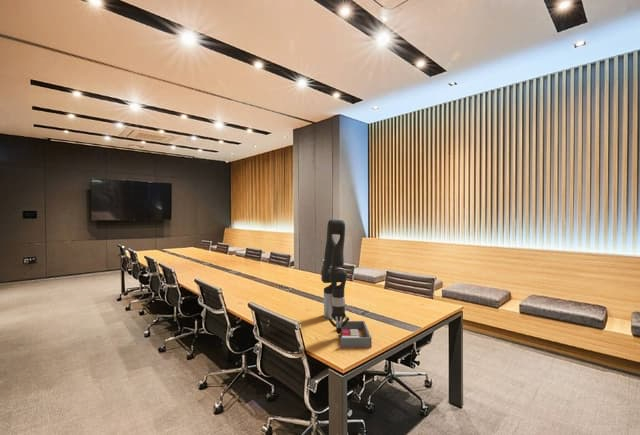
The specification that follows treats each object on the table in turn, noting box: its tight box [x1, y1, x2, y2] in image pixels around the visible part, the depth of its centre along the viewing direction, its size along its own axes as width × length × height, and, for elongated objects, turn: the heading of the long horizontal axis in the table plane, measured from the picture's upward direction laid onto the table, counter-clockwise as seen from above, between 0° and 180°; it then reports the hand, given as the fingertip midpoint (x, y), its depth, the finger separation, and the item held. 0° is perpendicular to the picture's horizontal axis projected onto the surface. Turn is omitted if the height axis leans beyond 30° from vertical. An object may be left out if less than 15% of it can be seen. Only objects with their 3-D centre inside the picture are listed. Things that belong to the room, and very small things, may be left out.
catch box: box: [338, 320, 373, 349], centre depth 176 cm, size 26×17×5 cm, turn 0°
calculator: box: [339, 329, 361, 338], centre depth 174 cm, size 11×4×15 cm
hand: (338, 333), depth 176 cm, fingers closed
